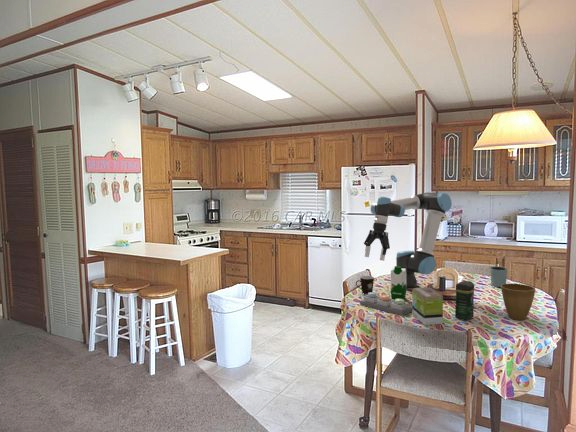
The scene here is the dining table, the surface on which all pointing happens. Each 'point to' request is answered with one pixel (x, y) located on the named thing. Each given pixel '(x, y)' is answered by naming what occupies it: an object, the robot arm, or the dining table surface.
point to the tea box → (427, 306)
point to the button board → (386, 305)
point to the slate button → (372, 295)
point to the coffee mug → (366, 284)
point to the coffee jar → (464, 300)
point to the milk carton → (398, 283)
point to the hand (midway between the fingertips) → (374, 258)
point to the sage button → (399, 301)
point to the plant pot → (517, 300)
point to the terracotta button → (385, 298)
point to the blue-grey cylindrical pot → (498, 276)
